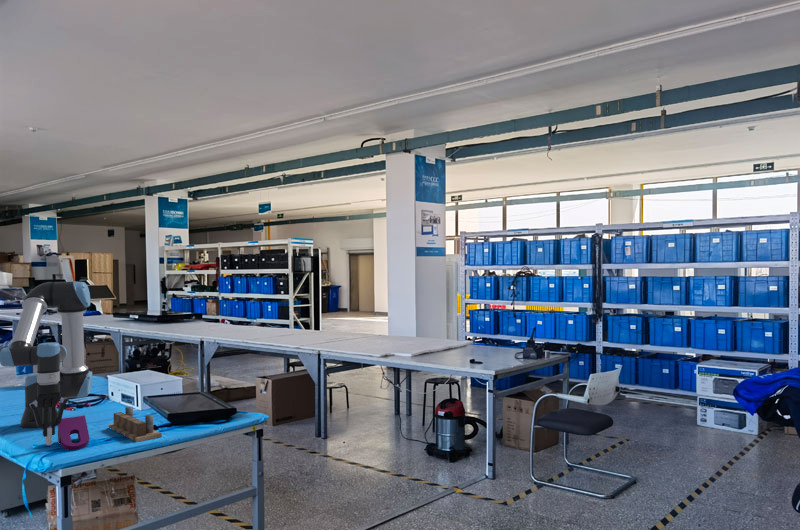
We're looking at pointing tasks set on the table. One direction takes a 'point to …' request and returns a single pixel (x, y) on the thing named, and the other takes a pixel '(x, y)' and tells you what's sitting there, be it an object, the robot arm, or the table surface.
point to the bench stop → (134, 426)
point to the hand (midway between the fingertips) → (48, 444)
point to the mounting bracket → (73, 432)
